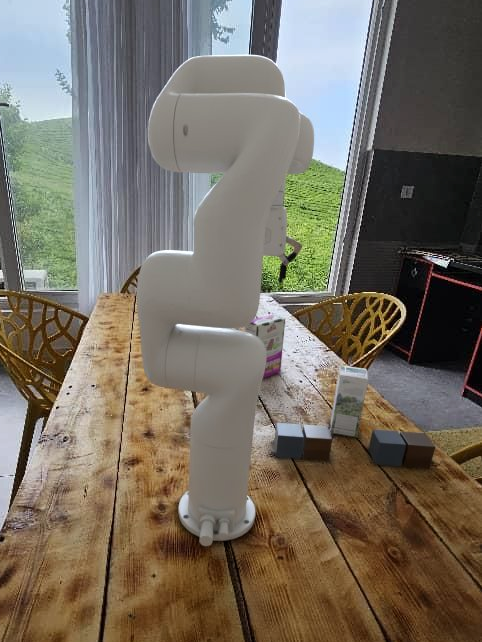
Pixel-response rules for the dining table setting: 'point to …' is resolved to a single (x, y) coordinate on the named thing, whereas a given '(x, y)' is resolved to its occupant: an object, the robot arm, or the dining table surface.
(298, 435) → the slate block
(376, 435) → the slate block
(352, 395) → the syrup box
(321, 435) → the walnut block
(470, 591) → the dining table surface
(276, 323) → the candy bar box
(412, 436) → the walnut block
